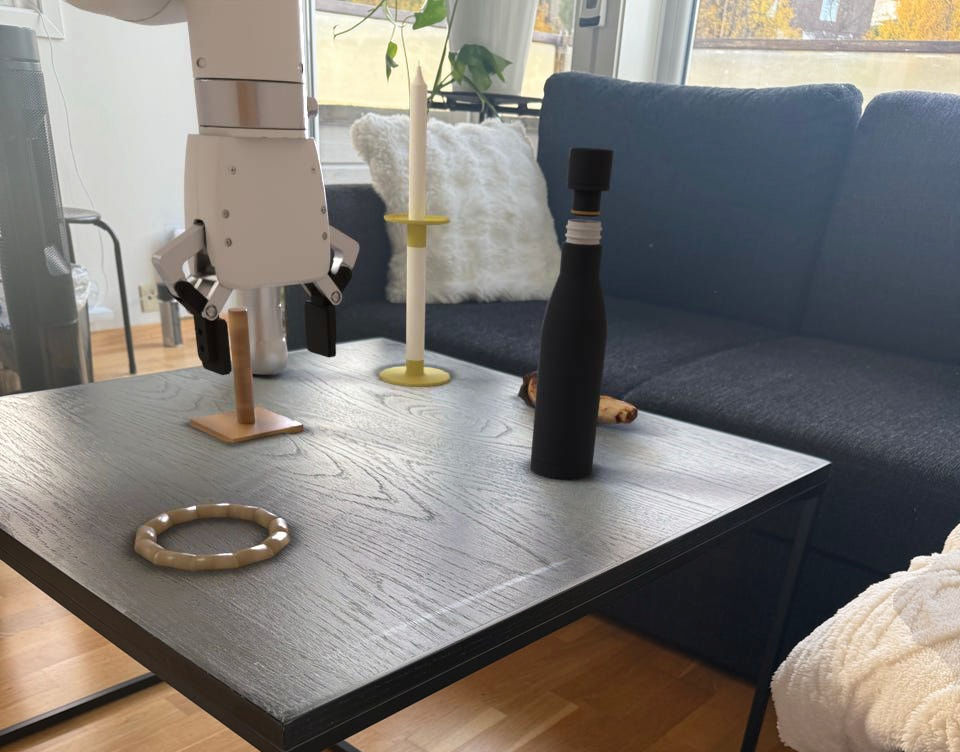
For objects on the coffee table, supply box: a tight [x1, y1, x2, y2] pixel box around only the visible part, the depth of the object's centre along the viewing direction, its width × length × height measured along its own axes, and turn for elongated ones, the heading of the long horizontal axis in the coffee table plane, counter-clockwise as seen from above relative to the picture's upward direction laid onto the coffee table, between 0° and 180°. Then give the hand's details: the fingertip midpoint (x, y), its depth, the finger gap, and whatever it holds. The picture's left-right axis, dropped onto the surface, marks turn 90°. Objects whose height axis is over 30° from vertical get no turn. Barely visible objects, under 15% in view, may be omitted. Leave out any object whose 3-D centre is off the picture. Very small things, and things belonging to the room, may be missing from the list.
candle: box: [378, 60, 452, 387], centre depth 119 cm, size 10×10×38 cm
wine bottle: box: [529, 147, 614, 481], centre depth 88 cm, size 6×6×30 cm
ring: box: [133, 502, 291, 572], centre depth 76 cm, size 12×12×2 cm
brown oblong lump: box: [517, 370, 639, 425], centre depth 112 cm, size 9×5×18 cm
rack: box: [189, 307, 304, 444], centre depth 100 cm, size 9×9×13 cm
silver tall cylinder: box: [236, 286, 289, 376], centre depth 121 cm, size 6×7×20 cm
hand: (271, 362), depth 72 cm, fingers open, 9 cm apart
